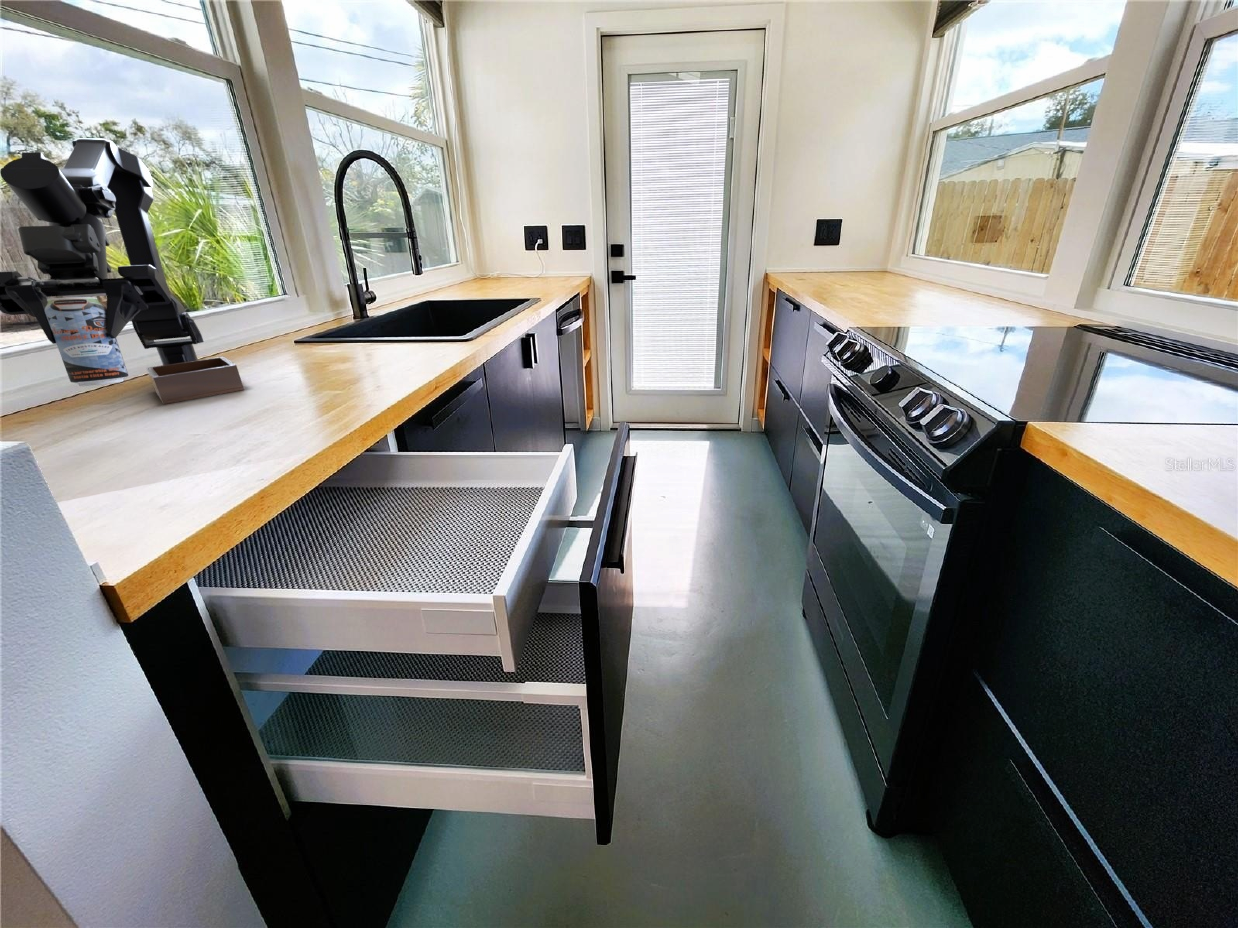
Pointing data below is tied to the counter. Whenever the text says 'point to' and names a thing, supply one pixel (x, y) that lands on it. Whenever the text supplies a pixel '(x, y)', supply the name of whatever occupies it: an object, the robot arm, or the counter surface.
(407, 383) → the counter surface
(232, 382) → the brown rectangular open box
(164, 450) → the counter surface
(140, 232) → the robot arm
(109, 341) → the beverage can
